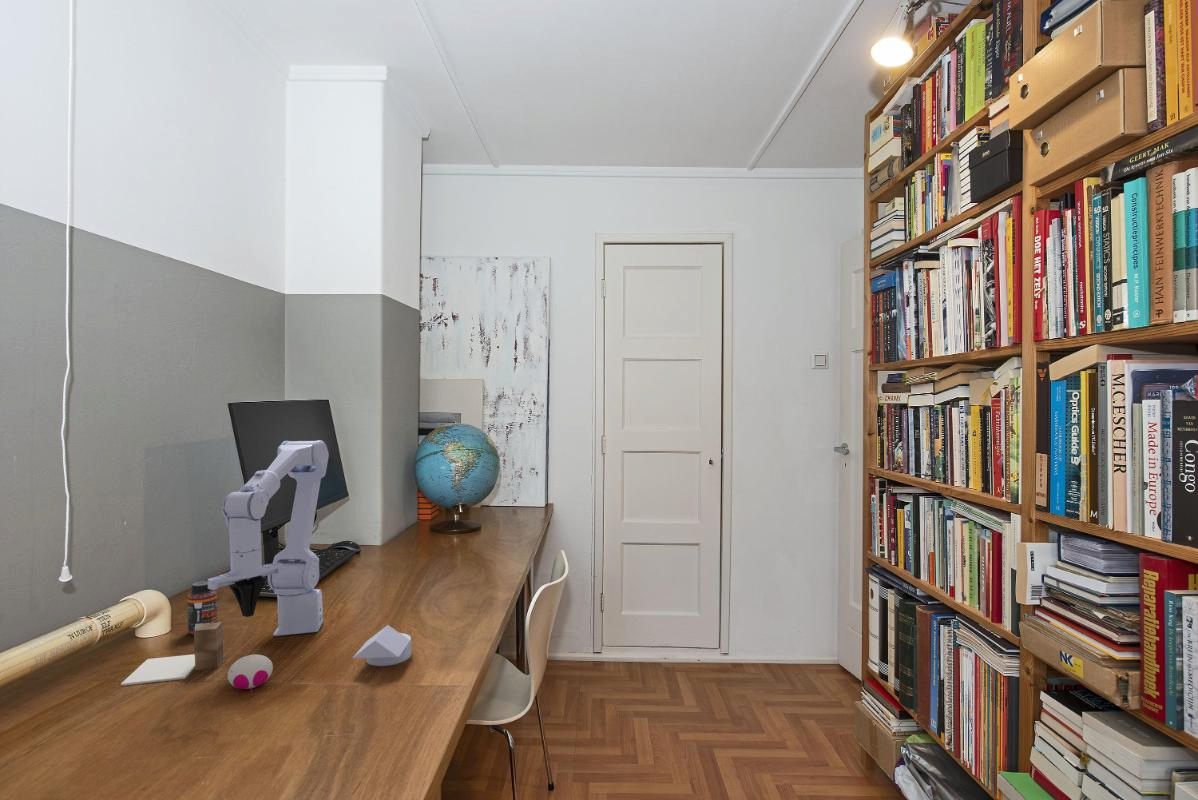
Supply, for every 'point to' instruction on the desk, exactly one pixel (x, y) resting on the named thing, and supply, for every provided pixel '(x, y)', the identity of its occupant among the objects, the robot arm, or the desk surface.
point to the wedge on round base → (386, 648)
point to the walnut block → (208, 645)
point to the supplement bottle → (201, 606)
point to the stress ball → (250, 671)
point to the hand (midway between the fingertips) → (248, 615)
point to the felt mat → (162, 670)
